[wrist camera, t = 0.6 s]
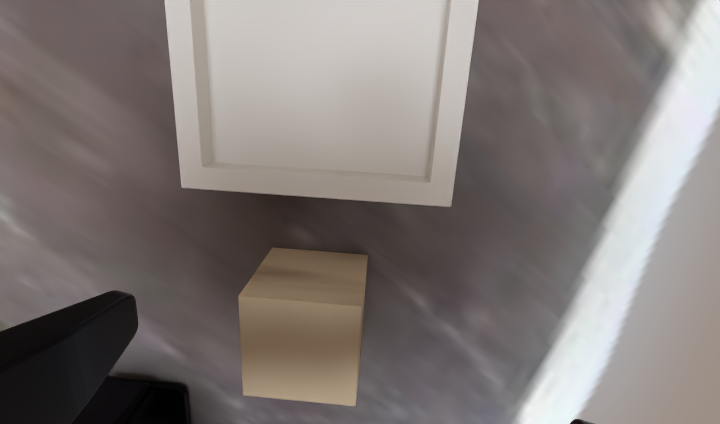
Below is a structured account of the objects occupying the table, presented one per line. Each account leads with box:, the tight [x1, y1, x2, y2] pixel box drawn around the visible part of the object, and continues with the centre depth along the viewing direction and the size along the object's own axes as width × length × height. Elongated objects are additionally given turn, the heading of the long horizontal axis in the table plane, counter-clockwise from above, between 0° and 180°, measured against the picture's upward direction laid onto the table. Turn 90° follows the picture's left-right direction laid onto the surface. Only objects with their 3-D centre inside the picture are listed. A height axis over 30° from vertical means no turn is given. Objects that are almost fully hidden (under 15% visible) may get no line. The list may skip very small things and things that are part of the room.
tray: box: [165, 0, 479, 207], centre depth 16 cm, size 14×12×2 cm
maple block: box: [238, 247, 368, 406], centre depth 19 cm, size 5×5×5 cm
